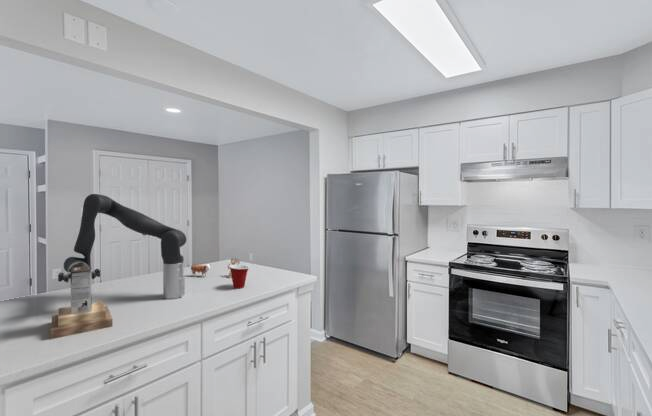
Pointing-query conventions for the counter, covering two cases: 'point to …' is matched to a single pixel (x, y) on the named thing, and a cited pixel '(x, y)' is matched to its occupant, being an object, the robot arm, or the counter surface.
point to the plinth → (79, 326)
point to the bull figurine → (200, 269)
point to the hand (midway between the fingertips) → (80, 278)
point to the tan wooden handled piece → (229, 267)
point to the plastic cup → (238, 275)
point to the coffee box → (81, 289)
